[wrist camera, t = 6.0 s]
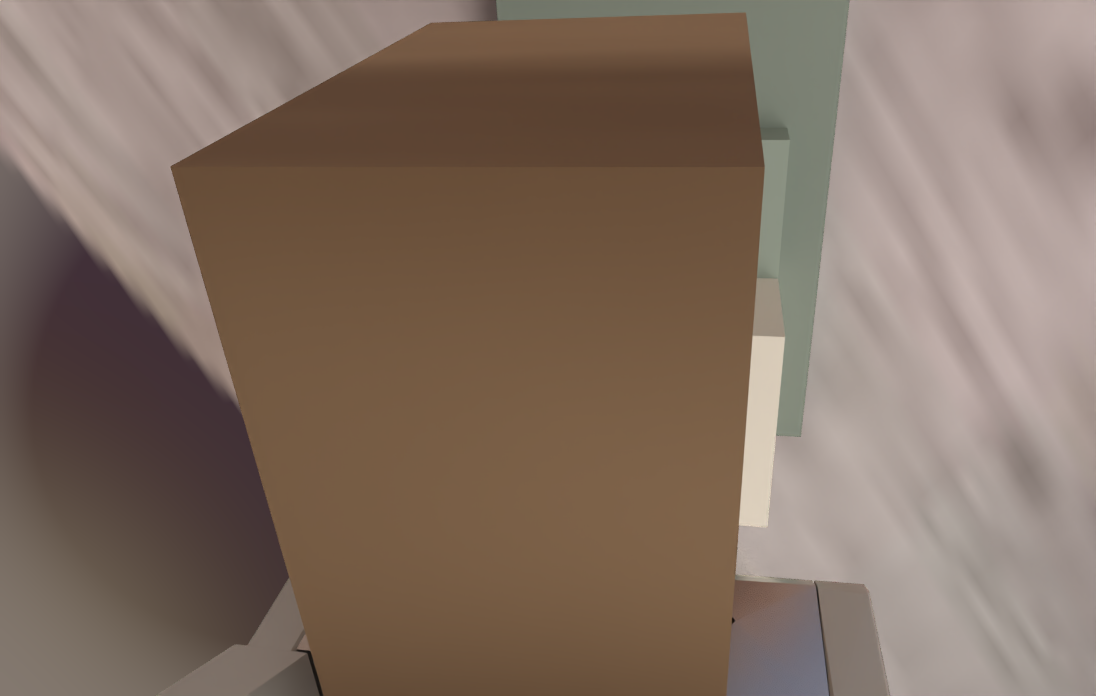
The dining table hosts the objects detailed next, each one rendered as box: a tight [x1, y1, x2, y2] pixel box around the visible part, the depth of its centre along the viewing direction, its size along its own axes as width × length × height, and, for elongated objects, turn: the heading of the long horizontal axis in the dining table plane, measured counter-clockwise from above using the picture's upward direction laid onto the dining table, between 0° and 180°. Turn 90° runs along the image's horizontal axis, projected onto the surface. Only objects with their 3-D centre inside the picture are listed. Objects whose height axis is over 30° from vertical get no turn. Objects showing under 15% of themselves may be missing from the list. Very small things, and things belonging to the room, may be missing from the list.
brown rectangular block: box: [171, 12, 765, 696], centre depth 9 cm, size 12×3×4 cm, turn 3°
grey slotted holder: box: [496, 0, 849, 527], centre depth 19 cm, size 20×8×5 cm, turn 3°
